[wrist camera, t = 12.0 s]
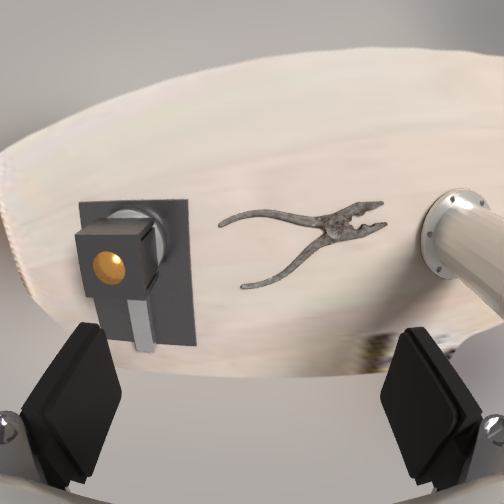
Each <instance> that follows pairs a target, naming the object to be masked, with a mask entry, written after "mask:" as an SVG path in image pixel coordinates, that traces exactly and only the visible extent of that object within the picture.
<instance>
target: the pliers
mask: <svg viewBox="0 0 504 504" xmlns="http://www.w3.org/2000/svg"><path fill="white" fill-rule="evenodd" d="M383 204H384V202H382V201H377V202H357V203H355V204H352V205H350V206H348V207H346V208H344V209H342V210H340V211H338V212H336V213H334V214H330V215H324V216H319V217H308V216H301V215H295V214H290V213H286V212H280V211H275V210H253V211H247V212H243V213H239V214H237V215H234V216H231V217H229V218H227V219H225V220H223V221H222V222H220V223H219V227H223V226H226V225H228V224H230V223H232V222H234V221H237V220H240V219H244V218H248V217H256V216H264V217H272V218H276V219H281V220H284V221H288V222H292V223H295V224H299V225H303V226H309V227H318V228H325V229H326V232H327V233H325V234H323V235H321V236H320V237H319V238H317V239H316V240H315V241H313V242H312V243H311V244H310V245H309V246H308V247H306V248H305V249H304V250H303V252H302V253H301V254H300V255H299V256H298V257H297V258H296V259H295V260H294V261H293V262H292V263H291V264H290V265H289V266H288V267H287V268H286V269H284V270H283V271H282V272H280V273H279V274H277V275H276V276H273V277H271V278H269V279H266V280H264V281H260V282H256V283H250V284H242V285H241V288H242V289H251V288H258V287H262V286H266V285H269V284H272V283H274V282H277V281H279V280H281V279H283V278H284V277H286V276H288V275H289V274H290V273H291V272H293V271H294V270H295V269H296V268H297V267H298V266H300V265H301V264H302V263H303V262H304V261H305V260H306V259H307V258H308V257H310V256H311V255H312V254H313V253H314V252H316V251H317V250H318V249H320V248H321V247H323V246H326V245H330V244H332V243H335V242H337V241H342V240H350V239H356V238H361V237H365V236H367V235H369V234H371V233H373V232H375V231H377V230H379V229H381V228H383V227H385V226H387V225H388V223H386V222H384V223H375V224H373V225H371V226H369V225H365V224H362V225H361V227H360V228H359V229H357V230H356V229H354V228H353V226H352V225H349V222H350V221H352V216H353V215H354V214H356V213H358V214H360V215H361V216H362V215H364V214H365V212H366V211H367V210H370V209H375V208H377V207H379V206H381V205H383Z"/></svg>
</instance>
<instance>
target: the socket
mask: <svg viewBox="0 0 504 504" xmlns="http://www.w3.org/2000/svg"><path fill="white" fill-rule="evenodd" d="M154 224H155V221H154V218H98V219H96V220H95V221H93V222H92V223H90V224H89V225H88V226H86V227H85V228H83V229H82V230H80V231H79V232H78V233H76V234H75V241H76V247H77V253H78V259H79V264H80V270H81V275H82V280H83V285H84V290H85V294H86V297H94V298H108V299H123V300H140V301H146V299H147V297H148V295H149V294H150V292H151V290H152V288H153V286H154V285H155V283H156V281H157V279H158V277H159V271H157V269H158V259H157V247H156V235H155V227H152V226H153V225H154Z"/></svg>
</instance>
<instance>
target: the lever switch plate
mask: <svg viewBox="0 0 504 504" xmlns="http://www.w3.org/2000/svg"><path fill="white" fill-rule="evenodd" d="M79 209H80V217H81V225H82V229H83V228H85V227H86V226H88V225H89V224H90V223H92V222H93V221H95V220H96V219H98V218H154V221H155V224H154V225H153V226H152V227H155V235H156V247H157V259H158V269H157V271H159V277H158V279H157V281H156V283H155V285H154V286H153V288H152V290H151V292H150V294H149V295H148V297H147V299H146V301H140V300H123V299H108V298H94V300H95V305H96V309H97V314H98V318H99V322H100V326H101V329H103V330H104V331H105V334H106V338H107V339H112V340H122V341H132V342H135V344H136V348H137V351H144V352H155V350H156V348H157V344H169V345H185V346H196V345H197V342H196V330H195V318H194V305H193V290H192V275H191V257H190V236H189V210H188V199H166V200H119V201H91V202H79Z"/></svg>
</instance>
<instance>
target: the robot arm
mask: <svg viewBox="0 0 504 504" xmlns="http://www.w3.org/2000/svg"><path fill="white" fill-rule="evenodd" d="M421 252H422V255H423V259H424V261H425V262H426V264H427V266H428V267H429V268H430V269H431V270H432V271H433V272H434V273H435V274H436V275H438V276H440V277H442V278H446V279H455V278H458V279H459V280H461V281H462V282H463V283H464V284H465V285H466V286H467V287H469V288H470V289H471V290H472V291H473V292H474V293H475V294H476V295H477V296H479V297H480V298H481V299H482V300H483V301H484V302H485V303H486V304H487V305H488V306H489V307H490V308H491V309H493V310H494V311H495V312H496V313H497V314H498V315H499V316H500V317H501V318H502V319H503V320H504V217H502V216H500V215H498V214H496V213H494V212H492V211H491V209H490V207H489V205H488V203H487V201H486V200H485V199H484V198H483V197H482V196H481V195H480V194H478V193H477V192H475V191H472V190H470V189H464V188H460V189H454V190H452V191H449V192H447V193H446V194H444V195H443V196H441V197H440V198H439V199H438V200H437V201H436V202H435V204H434V205H433V206H432V207H431V209H430V211H429V212H428V214H427V216H426V219H425V221H424V224H423V228H422V232H421ZM121 393H122V392H121V387H120V384H119V381H118V378H117V374H116V370H115V367H114V364H113V360H112V357H111V353H110V349H109V346H108V342H107V338H106V334H105V331H104V330H103V329H100V326H99V325H98V324H94V323H85V322H81V323H80V324H79V325H78V326H77V328H76V329H75V330H74V332H73V333H72V335H71V336H70V337H69V339H68V340H67V341H66V343H65V344H64V346H63V347H62V349H61V350H60V351H59V353H58V354H57V355H56V357H55V358H54V360H53V361H52V363H51V364H50V365H49V367H48V368H47V370H46V371H45V373H44V374H43V376H42V377H41V379H40V380H39V382H38V383H37V385H36V386H35V388H34V389H33V391H32V392H31V394H30V395H29V397H28V399H27V400H26V402H25V403H24V405H23V407H22V408H21V409H22V411H21V413H20V415H18V414H17V413H14V412H12V411H0V504H111V503H107V502H103V501H98V500H95V499H91V498H87V497H84V496H80V495H76V494H73V493H71V492H70V490H69V488H68V485H69V483H70V480H72V481H75V482H78V483H82V484H85V481H86V479H87V477H90V476H92V474H93V471H94V469H95V466H96V463H97V460H98V457H99V455H100V452H101V449H102V446H103V444H104V441H105V438H106V436H107V433H108V431H109V428H110V425H111V423H112V420H113V418H114V415H115V412H116V410H117V407H118V405H119V402H120V400H121ZM380 399H381V403H382V405H383V408H384V410H385V413H386V415H387V418H388V420H389V423H390V425H391V428H392V431H393V433H394V436H395V438H396V441H397V444H398V446H399V449H400V451H401V454H402V457H403V459H404V462H405V465H406V468H407V470H408V473H409V475H410V477H411V478H415V481H416V484H417V485H421V484H425V483H428V482H431V481H432V483H433V486H434V488H433V490H432V493H431V494H428V495H425V496H421V497H418V498H414V499H410V500H406V501H402V502H399V503H395V504H504V416H503V415H499V414H492V415H489V416H487V417H485V418H484V419H483V418H482V416H481V413H482V410H481V408H480V407H479V405H478V404H477V402H476V401H475V399H474V397H473V396H472V394H471V393H470V391H469V390H468V389H467V387H466V385H465V384H464V383H463V381H462V379H461V378H460V377H459V375H458V374H457V372H456V371H455V369H454V368H453V367H452V365H451V364H450V362H449V361H448V359H447V358H446V356H445V355H444V354H443V352H442V351H441V349H440V348H439V347H438V345H437V344H436V343H435V341H434V340H433V338H432V337H431V336H430V334H429V333H428V332H427V330H426V329H425V328H424V327H413V328H407V329H406V330H405V331H404V333H401V334H400V336H399V340H398V343H397V346H396V349H395V352H394V355H393V358H392V361H391V364H390V367H389V370H388V373H387V376H386V379H385V382H384V385H383V388H382V390H381V394H380Z"/></svg>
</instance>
